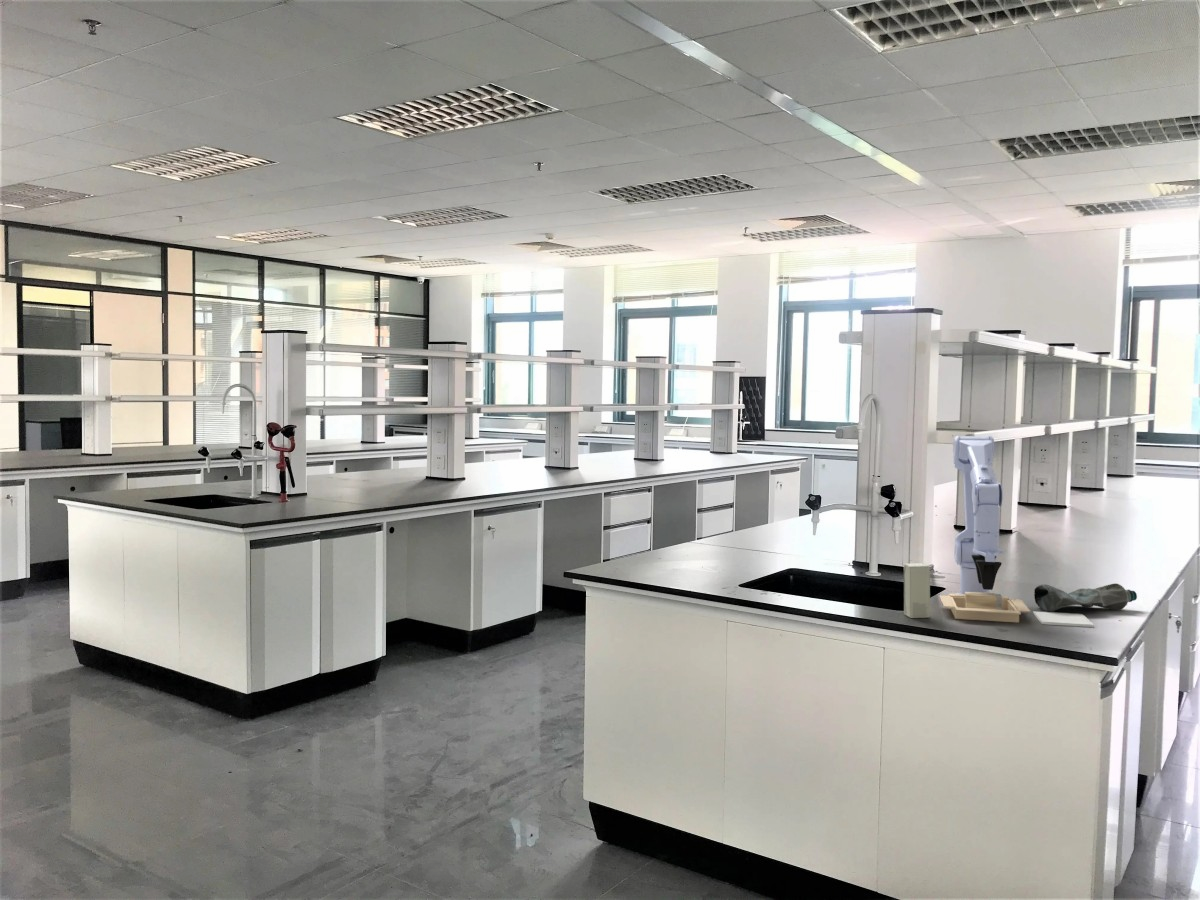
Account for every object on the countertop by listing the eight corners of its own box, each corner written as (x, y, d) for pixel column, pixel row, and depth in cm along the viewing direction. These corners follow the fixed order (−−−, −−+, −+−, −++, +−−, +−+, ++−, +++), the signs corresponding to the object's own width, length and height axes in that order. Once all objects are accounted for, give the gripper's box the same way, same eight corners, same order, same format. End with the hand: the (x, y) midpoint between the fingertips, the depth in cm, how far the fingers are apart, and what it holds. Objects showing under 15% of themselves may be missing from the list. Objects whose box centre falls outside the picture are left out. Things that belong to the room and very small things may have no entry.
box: (923, 614, 220) (924, 562, 220) (930, 618, 216) (931, 565, 215) (902, 614, 220) (903, 562, 220) (909, 618, 216) (909, 566, 215)
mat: (1033, 613, 220) (1033, 611, 220) (1082, 616, 217) (1082, 614, 217) (1041, 624, 210) (1042, 621, 210) (1093, 627, 207) (1093, 624, 207)
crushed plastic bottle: (1050, 616, 218) (1152, 614, 218) (1049, 587, 218) (1151, 584, 218) (1025, 609, 231) (1121, 606, 231) (1023, 581, 231) (1119, 579, 231)
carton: (938, 603, 232) (938, 592, 232) (1018, 607, 227) (1018, 597, 227) (945, 620, 214) (945, 608, 214) (1032, 625, 209) (1032, 613, 208)
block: (964, 611, 223) (964, 591, 223) (999, 613, 221) (999, 593, 221) (966, 614, 220) (966, 594, 219) (1001, 617, 217) (1002, 596, 217)
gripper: (1008, 536, 211) (1007, 593, 212) (999, 528, 225) (998, 581, 226) (976, 535, 213) (976, 591, 214) (969, 527, 227) (968, 580, 228)
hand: (985, 586), depth 220 cm, fingers open, 7 cm apart
